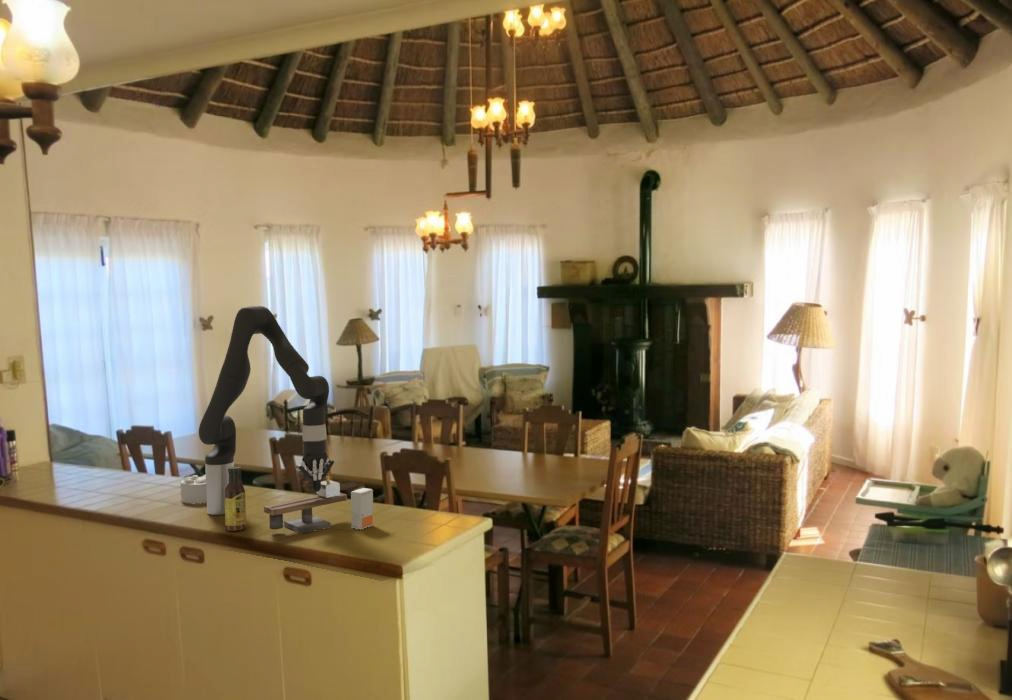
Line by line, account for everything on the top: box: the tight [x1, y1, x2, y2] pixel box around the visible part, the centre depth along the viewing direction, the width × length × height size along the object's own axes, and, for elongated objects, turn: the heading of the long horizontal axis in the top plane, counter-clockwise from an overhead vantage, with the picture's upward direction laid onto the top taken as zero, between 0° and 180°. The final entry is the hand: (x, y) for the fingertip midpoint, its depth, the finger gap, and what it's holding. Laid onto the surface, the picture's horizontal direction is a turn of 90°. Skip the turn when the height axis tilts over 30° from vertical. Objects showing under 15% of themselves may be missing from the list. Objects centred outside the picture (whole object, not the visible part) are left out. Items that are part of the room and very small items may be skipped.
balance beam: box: [263, 492, 348, 535], centre depth 244 cm, size 12×26×9 cm, turn 133°
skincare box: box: [350, 487, 374, 531], centre depth 242 cm, size 6×4×12 cm
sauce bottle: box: [224, 466, 247, 532], centre depth 242 cm, size 6×6×20 cm
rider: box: [315, 475, 341, 498], centre depth 248 cm, size 6×5×8 cm
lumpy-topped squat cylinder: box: [180, 474, 207, 505], centre depth 280 cm, size 10×13×9 cm
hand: (315, 491), depth 245 cm, fingers closed
